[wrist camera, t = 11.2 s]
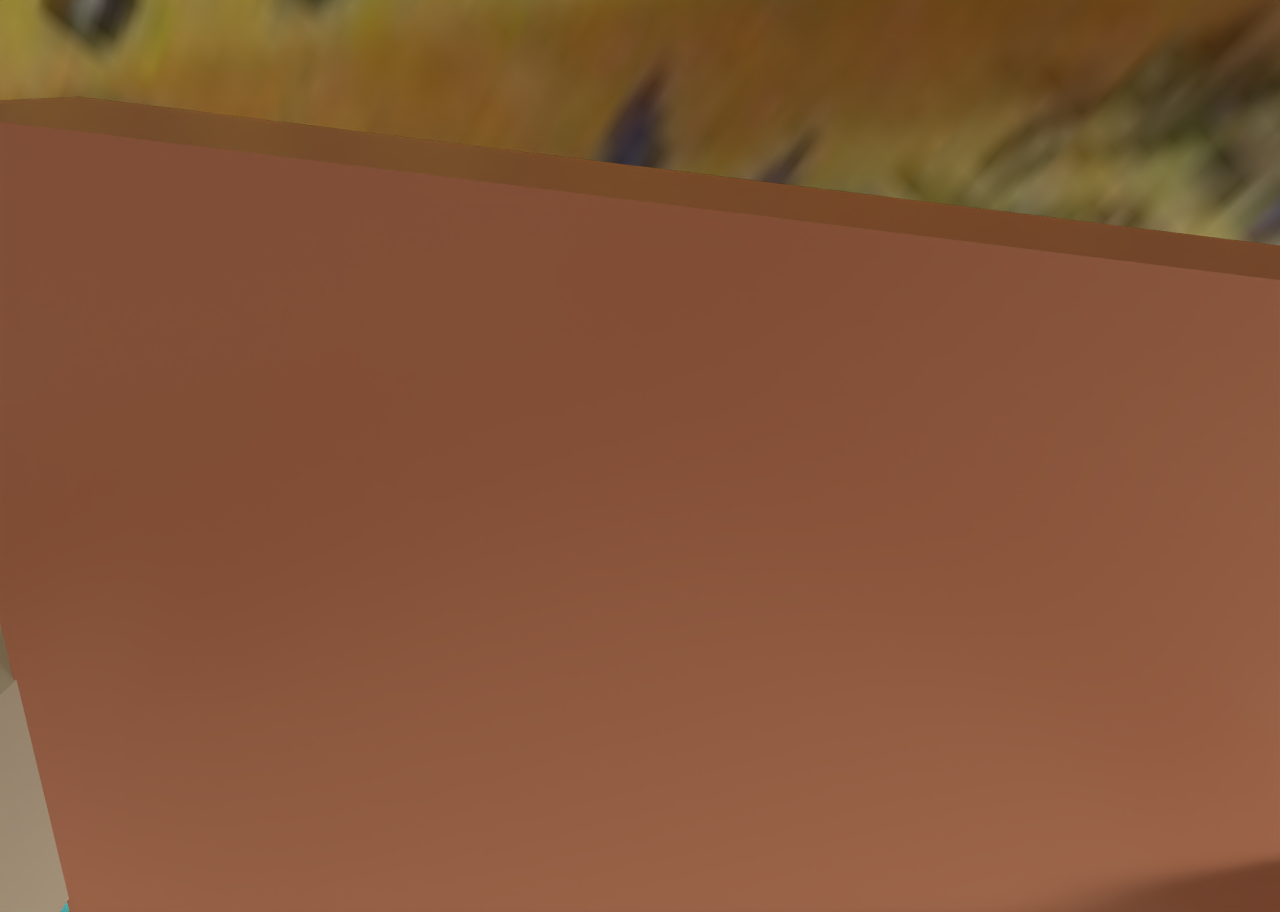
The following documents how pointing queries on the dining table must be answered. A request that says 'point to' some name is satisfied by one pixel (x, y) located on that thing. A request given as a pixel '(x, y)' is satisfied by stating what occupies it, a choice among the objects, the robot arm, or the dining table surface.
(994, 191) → the dining table surface
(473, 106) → the dining table surface
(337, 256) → the lid
